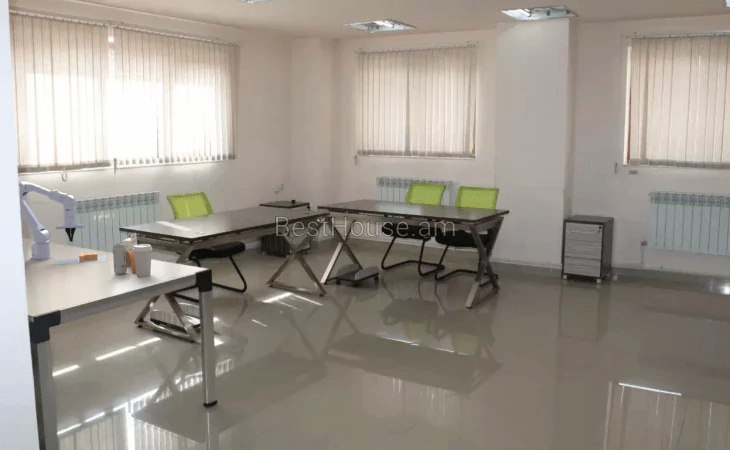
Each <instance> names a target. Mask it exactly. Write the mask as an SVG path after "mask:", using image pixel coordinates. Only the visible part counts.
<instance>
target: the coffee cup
mask: <svg viewBox="0 0 730 450" xmlns="http://www.w3.org/2000/svg"><path fill="white" fill-rule="evenodd" d="M132 251H133V253H134V260H135V267H136V273H135V274H136V277H139V278H146V277H150V276H151V271H152V270H151V269H152V251H153V247H152V245H151V244H148V243H141V244H137V245H135V246H134V247H133V249H132Z"/></svg>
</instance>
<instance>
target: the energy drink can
mask: <svg viewBox="0 0 730 450" xmlns="http://www.w3.org/2000/svg"><path fill="white" fill-rule="evenodd" d="M112 258H113V259H112V260H113V273H114V274H115V275H117V276H120V275H123V276H124V275H126V274H127V272H128V270H127V269H128V268H127V267H128V266H127V264H126V247H125V245H124V244H123V242H122V243H114V244H113V247H112Z"/></svg>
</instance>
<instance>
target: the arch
mask: <svg viewBox="0 0 730 450" xmlns="http://www.w3.org/2000/svg"><path fill="white" fill-rule="evenodd" d="M126 264H127V267H131V273H132V274H136V267H135V260H134V253H133V251H132V250H130V251H126Z"/></svg>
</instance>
